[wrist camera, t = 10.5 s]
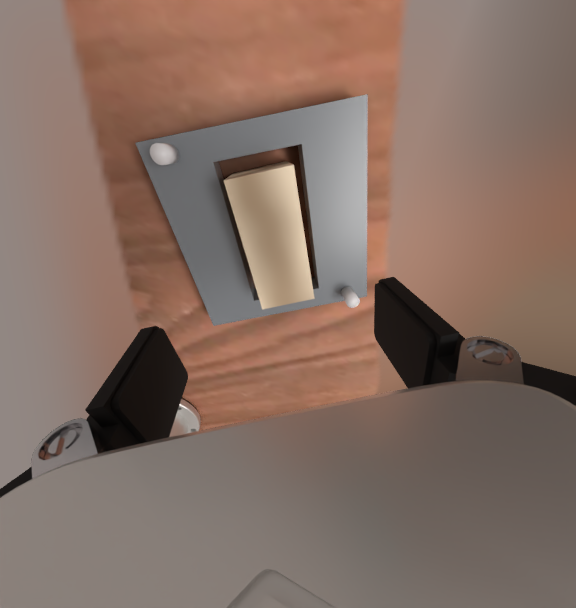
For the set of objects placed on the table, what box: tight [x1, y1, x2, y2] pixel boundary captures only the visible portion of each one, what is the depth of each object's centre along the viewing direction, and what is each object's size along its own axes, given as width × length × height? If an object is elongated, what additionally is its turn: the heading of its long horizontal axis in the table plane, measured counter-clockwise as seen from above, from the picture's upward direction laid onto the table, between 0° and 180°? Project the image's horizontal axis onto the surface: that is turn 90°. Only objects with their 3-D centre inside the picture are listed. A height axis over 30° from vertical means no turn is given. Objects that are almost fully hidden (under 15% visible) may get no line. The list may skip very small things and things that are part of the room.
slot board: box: [136, 95, 367, 326], centre depth 21 cm, size 16×16×4 cm
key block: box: [224, 161, 314, 309], centre depth 21 cm, size 4×10×6 cm, turn 11°
